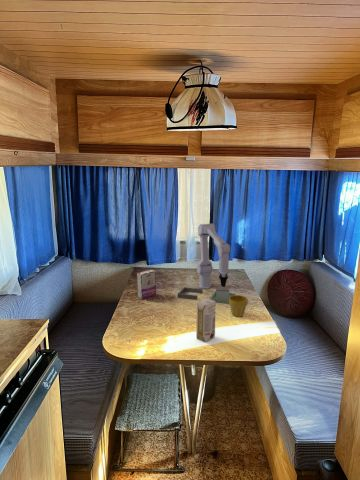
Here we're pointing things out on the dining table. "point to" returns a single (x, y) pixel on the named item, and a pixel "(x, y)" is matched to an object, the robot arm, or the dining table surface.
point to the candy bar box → (146, 284)
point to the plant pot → (238, 305)
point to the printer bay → (181, 295)
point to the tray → (220, 299)
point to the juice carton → (205, 320)
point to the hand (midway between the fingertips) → (223, 284)
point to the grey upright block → (222, 293)
